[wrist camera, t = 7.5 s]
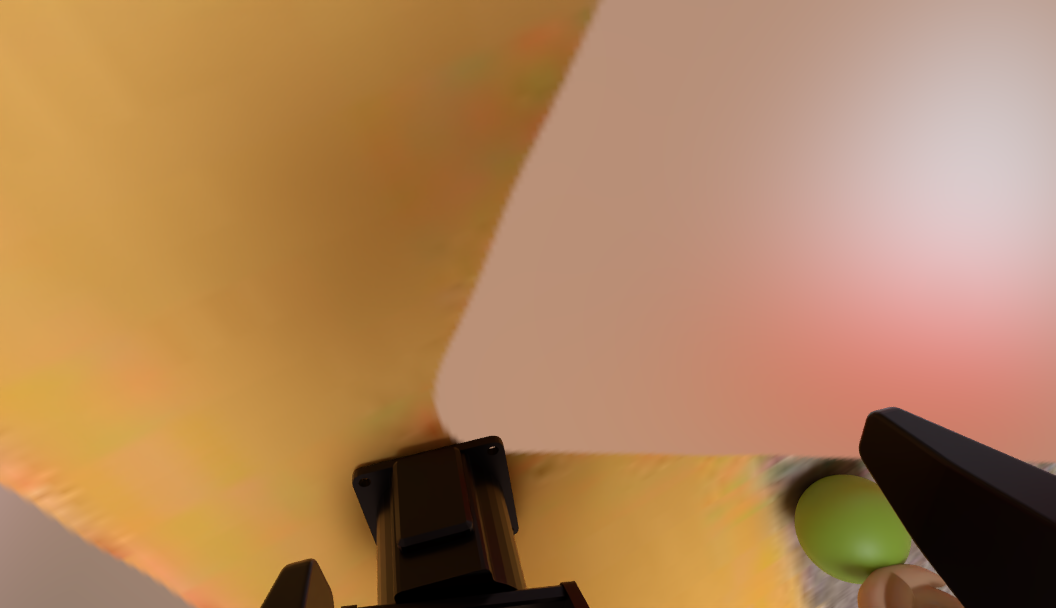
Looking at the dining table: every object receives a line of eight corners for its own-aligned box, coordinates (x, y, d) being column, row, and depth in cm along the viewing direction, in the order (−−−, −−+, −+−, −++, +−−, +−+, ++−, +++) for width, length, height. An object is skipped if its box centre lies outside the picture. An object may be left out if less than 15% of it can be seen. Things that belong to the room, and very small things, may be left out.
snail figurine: (774, 461, 31) (963, 703, 22) (875, 448, 33) (1095, 668, 23) (748, 528, 34) (904, 770, 24) (842, 513, 36) (1025, 736, 26)
